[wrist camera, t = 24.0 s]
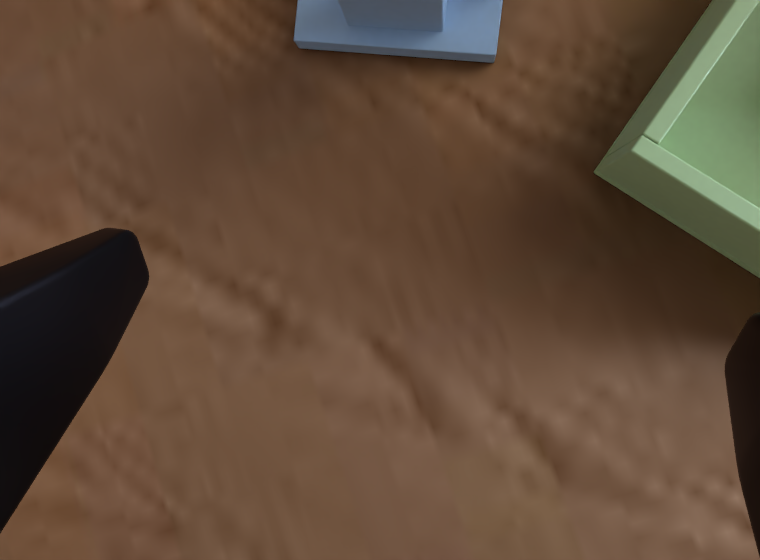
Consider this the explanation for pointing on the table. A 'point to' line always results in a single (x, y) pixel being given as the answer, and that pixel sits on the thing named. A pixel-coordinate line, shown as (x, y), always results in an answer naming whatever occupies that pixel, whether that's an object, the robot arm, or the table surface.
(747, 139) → the green planter box
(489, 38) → the blue post stand
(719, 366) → the table surface
